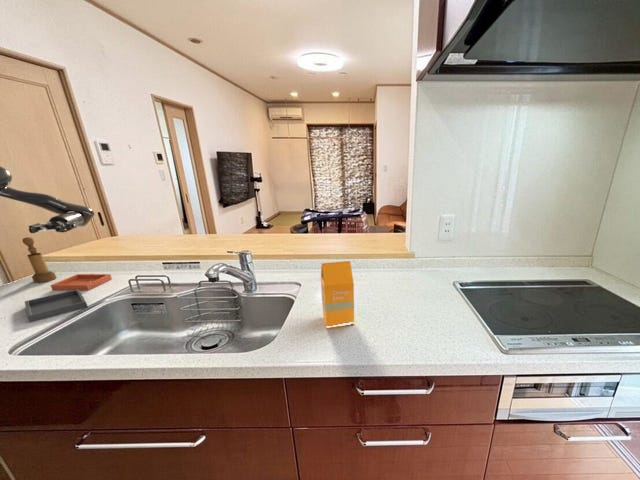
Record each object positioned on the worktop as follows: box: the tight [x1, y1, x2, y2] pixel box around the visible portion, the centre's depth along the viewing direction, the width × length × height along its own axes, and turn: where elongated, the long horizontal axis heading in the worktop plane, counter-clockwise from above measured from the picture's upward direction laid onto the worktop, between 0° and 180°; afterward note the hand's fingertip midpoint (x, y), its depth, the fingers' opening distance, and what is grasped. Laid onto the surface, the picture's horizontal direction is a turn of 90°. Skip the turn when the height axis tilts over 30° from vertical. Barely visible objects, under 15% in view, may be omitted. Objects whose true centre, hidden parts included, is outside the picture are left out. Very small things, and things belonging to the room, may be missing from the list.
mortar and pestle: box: [21, 236, 57, 284], centre depth 119 cm, size 7×6×18 cm
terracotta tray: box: [49, 273, 113, 291], centre depth 119 cm, size 14×12×2 cm
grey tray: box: [24, 289, 89, 323], centre depth 101 cm, size 16×14×2 cm
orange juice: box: [320, 260, 355, 330], centre depth 91 cm, size 8×9×20 cm
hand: (43, 230), depth 125 cm, fingers open, 8 cm apart
